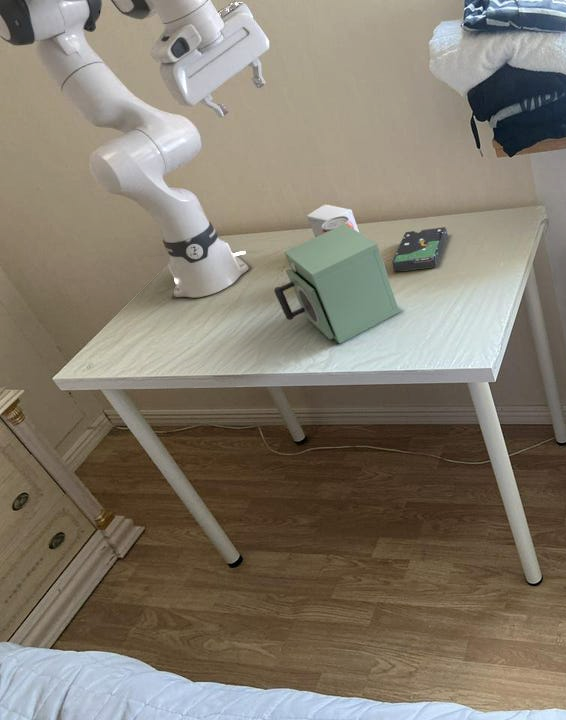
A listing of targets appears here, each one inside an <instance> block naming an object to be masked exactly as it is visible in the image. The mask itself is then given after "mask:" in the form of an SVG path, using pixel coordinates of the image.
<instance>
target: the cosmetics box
mask: <svg viewBox="0 0 566 720" xmlns="http://www.w3.org/2000/svg"><path fill="white" fill-rule="evenodd" d="M339 216H346V217H348V219H349V221H350V222H351V223H352V224H353V226H354V229H355V230H356V231H357V232H359V233H360V230H359V228H358V225H357V222H356V219H355V216H354V213H353V210H352V209H350V208H346V207H340V206H336V205H330V204H326V203H325V204H323V205H321V206H320V207H317V208H316V209H315V210H313V211H312V212H310V213H309V214H307V215H306V217H307V221H308V223H309V225H310V228H311V230H312V233H313V235H314V238H315V237H317V236H319V235H322V231H323V229H322V225H323V223H324V222H326V221H327V220H329V219H332V218H335V217H339Z"/></svg>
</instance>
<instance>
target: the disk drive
mask: <svg viewBox="0 0 566 720" xmlns="http://www.w3.org/2000/svg"><path fill="white" fill-rule="evenodd" d="M448 236H449V234H448V230H447V227H446V226H443V227H442V226H441V227H436V228H435V227H434V228H428V229H422V230H421V231H420V232H417V231H415V230H411V231H406V232H405V233H404V235H403V237H402V239H401V241H400V244H399V246H398V248H397V250H396V252H395V254H394V256H393V259H392V261H391V265H392V267H393V271H394V272H404V271H413V270H421V269H430V268H435V267H438V265H439V262H440V260H441V256H442V254H443V251H444V249H445V245H446V242H447V239H448Z"/></svg>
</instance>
